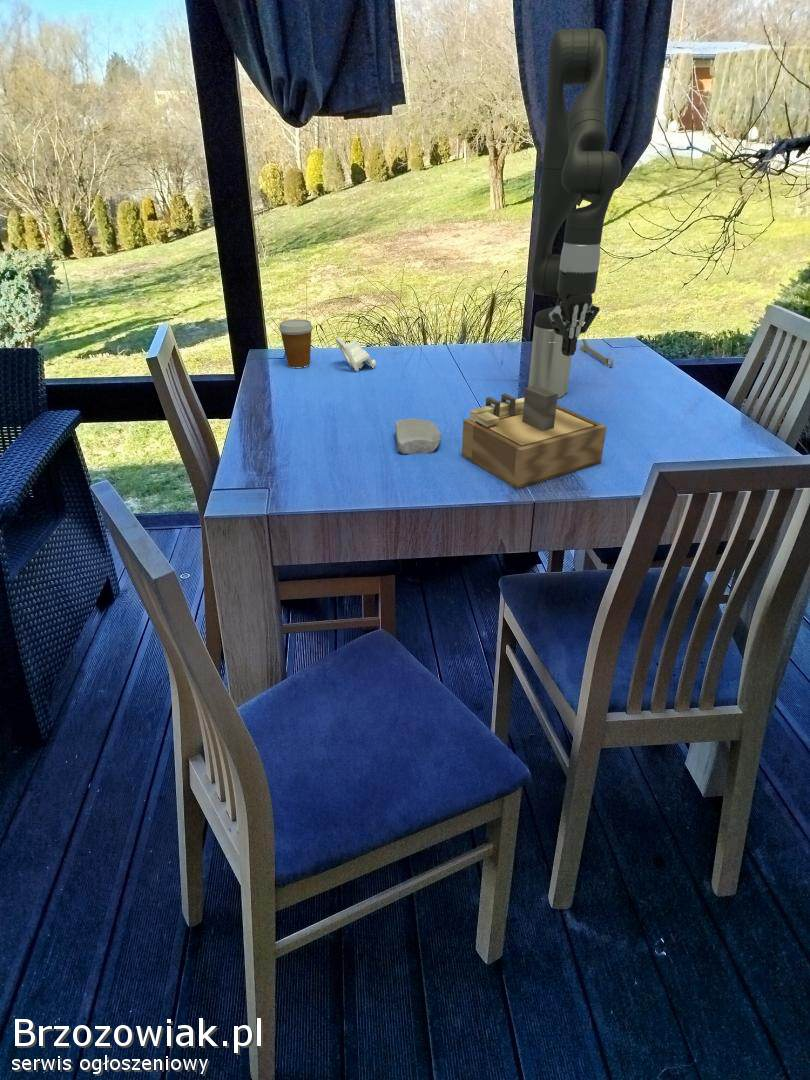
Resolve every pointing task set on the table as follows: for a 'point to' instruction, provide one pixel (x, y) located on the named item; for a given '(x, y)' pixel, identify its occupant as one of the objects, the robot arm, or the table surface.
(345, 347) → the mounting bracket
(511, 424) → the lid
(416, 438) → the stone block
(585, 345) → the combination wrench
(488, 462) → the wooden box
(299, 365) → the disposable coffee cup
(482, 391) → the table surface
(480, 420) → the yellow latch bar
